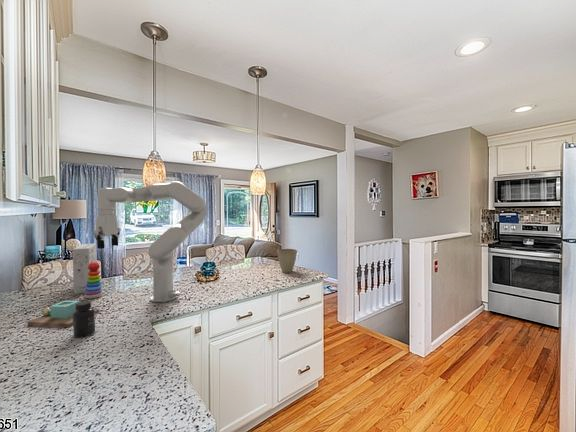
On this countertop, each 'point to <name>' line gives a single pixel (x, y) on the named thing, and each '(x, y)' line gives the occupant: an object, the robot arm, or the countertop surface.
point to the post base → (54, 321)
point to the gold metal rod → (46, 312)
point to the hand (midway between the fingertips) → (108, 246)
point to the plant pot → (287, 259)
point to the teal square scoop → (62, 309)
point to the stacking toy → (93, 282)
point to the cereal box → (82, 265)
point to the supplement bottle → (83, 319)
